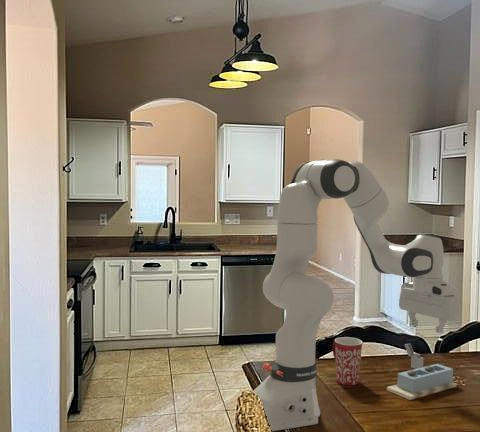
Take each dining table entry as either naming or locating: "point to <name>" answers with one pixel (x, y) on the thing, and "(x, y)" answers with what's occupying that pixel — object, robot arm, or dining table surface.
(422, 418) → the dining table surface
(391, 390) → the boss board
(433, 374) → the two-hole block
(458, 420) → the dining table surface
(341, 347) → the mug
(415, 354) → the lighter
